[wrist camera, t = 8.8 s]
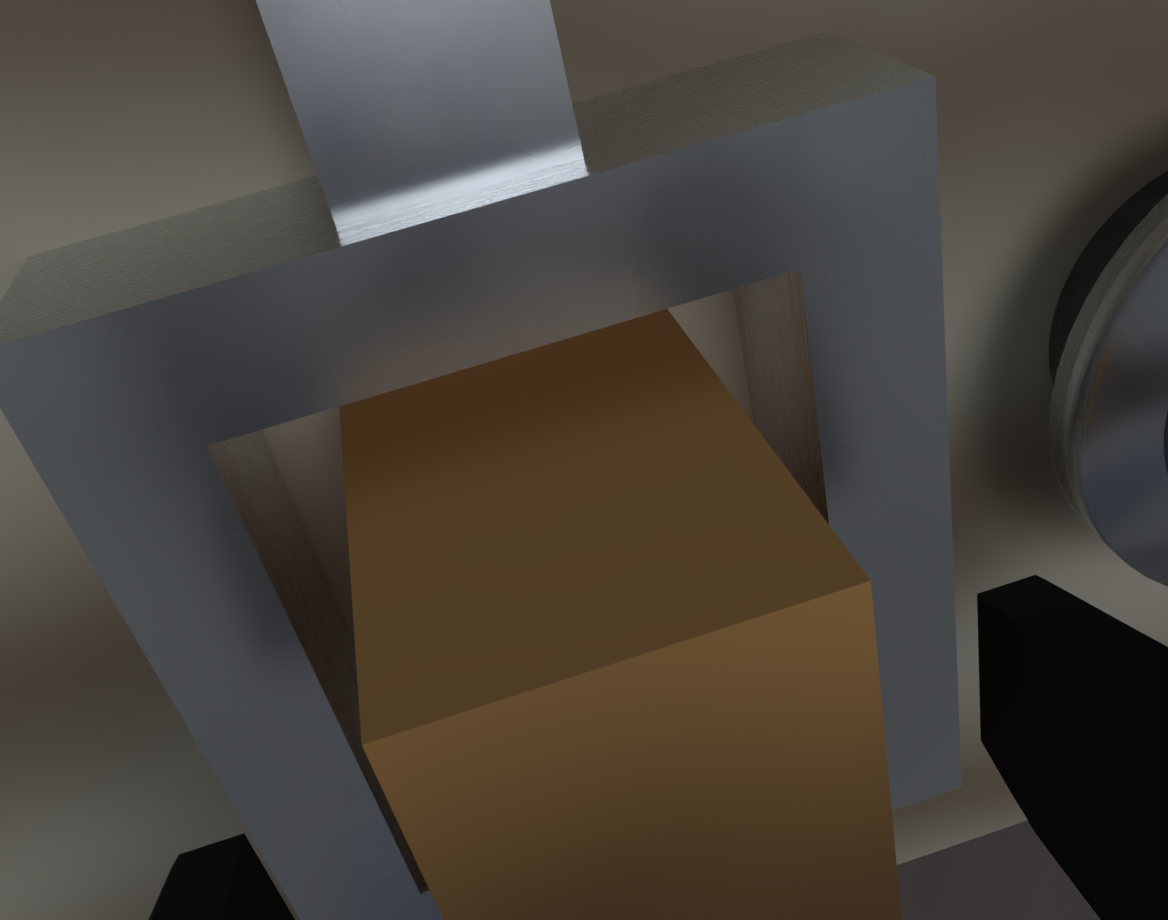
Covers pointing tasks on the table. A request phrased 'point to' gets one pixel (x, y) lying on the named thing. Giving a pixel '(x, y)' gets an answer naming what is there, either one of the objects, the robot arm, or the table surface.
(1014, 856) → the table surface
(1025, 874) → the table surface
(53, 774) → the base board
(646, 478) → the cardboard-brown box
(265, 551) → the grey rectangular frame
